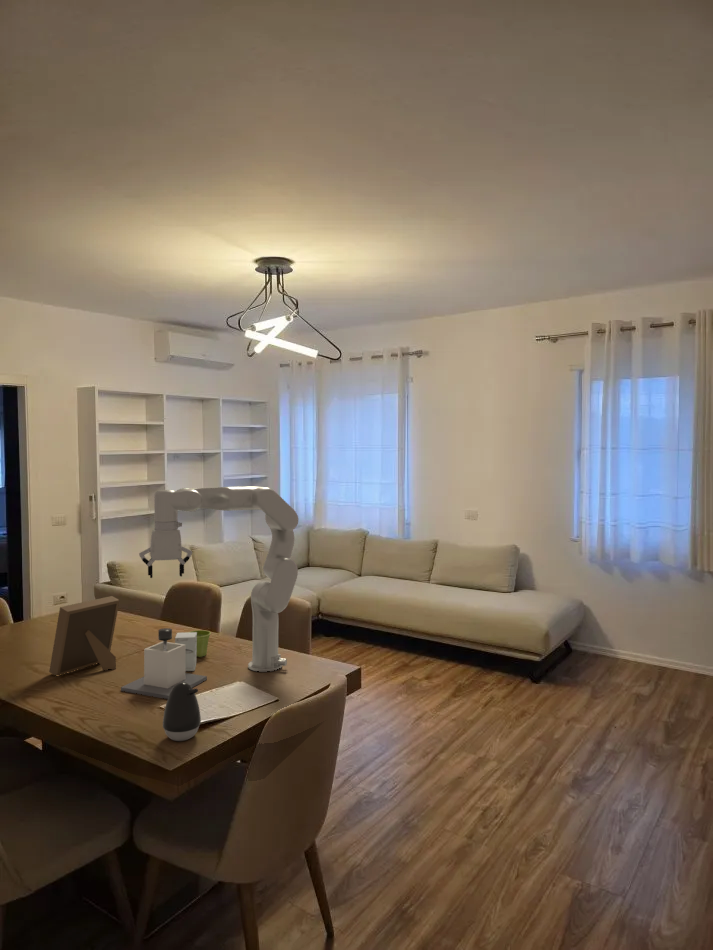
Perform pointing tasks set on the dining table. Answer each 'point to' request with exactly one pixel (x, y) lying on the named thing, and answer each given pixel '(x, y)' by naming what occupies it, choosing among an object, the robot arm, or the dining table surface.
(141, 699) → the dining table surface
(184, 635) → the supplement box
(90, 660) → the photo frame
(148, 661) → the grey square base
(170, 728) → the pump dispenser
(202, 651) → the plant pot
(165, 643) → the plunger
